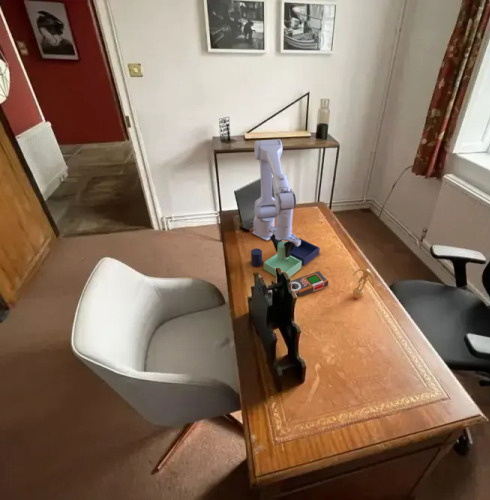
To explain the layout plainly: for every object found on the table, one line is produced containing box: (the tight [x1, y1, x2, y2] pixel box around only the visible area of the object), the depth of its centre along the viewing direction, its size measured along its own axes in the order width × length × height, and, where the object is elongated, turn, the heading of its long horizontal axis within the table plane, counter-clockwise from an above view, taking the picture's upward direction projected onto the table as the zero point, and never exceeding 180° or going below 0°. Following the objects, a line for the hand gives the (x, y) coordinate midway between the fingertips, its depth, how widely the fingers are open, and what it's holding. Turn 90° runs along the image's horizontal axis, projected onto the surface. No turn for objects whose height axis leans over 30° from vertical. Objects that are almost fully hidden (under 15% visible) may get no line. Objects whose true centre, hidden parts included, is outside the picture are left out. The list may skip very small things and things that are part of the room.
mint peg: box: [276, 240, 289, 260], centre depth 121 cm, size 4×4×6 cm
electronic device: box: [290, 270, 329, 297], centre depth 118 cm, size 7×3×15 cm
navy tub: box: [291, 237, 321, 267], centre depth 133 cm, size 11×11×4 cm
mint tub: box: [263, 253, 303, 278], centre depth 126 cm, size 11×11×4 cm
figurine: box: [352, 268, 375, 300], centre depth 112 cm, size 8×6×12 cm
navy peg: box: [250, 247, 263, 268], centre depth 127 cm, size 4×4×6 cm
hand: (283, 253), depth 122 cm, fingers closed on mint peg, 4 cm apart
